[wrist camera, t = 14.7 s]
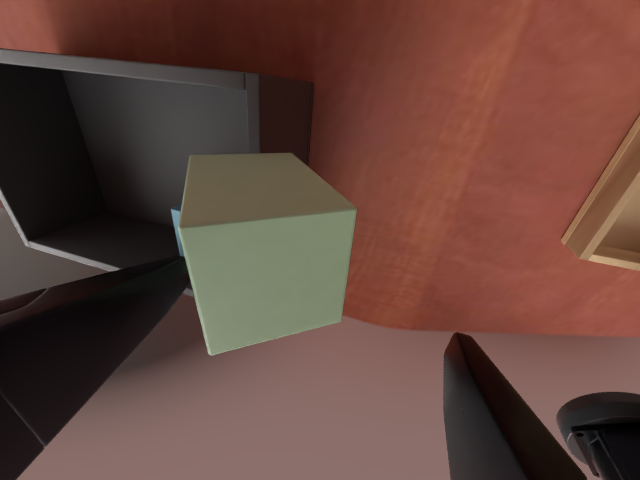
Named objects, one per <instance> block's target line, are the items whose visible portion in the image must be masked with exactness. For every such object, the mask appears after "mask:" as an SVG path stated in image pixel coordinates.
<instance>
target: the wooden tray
mask: <svg viewBox="0 0 640 480" xmlns="http://www.w3.org/2000/svg"><path fill="white" fill-rule="evenodd" d="M561 242H562V243H563V244H564V245H565V246H566V247H567V248H568V249H569V250H570V251H572V252H573V253H574V254H575V255H576V256H577V257H578V258H579V259H584V260H589V261H594V262H599V263H604V264H608V265H613V266H618V267H623V268H628V269H633V270H638V271H640V115H639V117H638V118H637V120H636V121H635V123H634V124H633V126H632V128H631V129H630V131H629V132H628V134H627V136H626V137H625V139H624V140H623V142H622V144H621V145H620V147H619V148H618V150H617V151H616V153H615V155H614V156H613V158H612V159H611V161H610V163H609V164H608V166H607V167H606V169H605V171H604V172H603V174H602V175H601V177H600V178H599V180H598V182H597V183H596V185H595V186H594V188H593V190H592V191H591V193H590V194H589V196H588V198H587V199H586V201H585V202H584V204H583V205H582V207H581V209H580V210H579V212H578V213H577V215H576V217H575V218H574V220H573V221H572V223H571V225H570V226H569V228H568V229H567V231H566V233H565V234H564V236H563V237H562V239H561Z"/></svg>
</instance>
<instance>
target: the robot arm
mask: <svg viewBox="0 0 640 480" xmlns="http://www.w3.org/2000/svg"><path fill="white" fill-rule="evenodd" d="M190 283H191V280H190V276H189V272H188V268H187V264H186V259H185V257H184V256H181V255H174V256H171V257H167V258H163V259H159V260H155V261H151V262H147V263H143V264H139V265H135V266H132V267H128V268H124V269H120V270H116V271H112V272H108V273H104V274H100V275H96V276H93V277H89V278H85V279H81V280H77V281H73V282H69V283H65V284H61V285H58V286H54V287H50V288H48V289H42V290H38V291H34V292H30V293H26V294H22V295H18V296H14V297H10V298H6V299H1V300H0V480H16V479H17V478H18V477H19V476H20V475H21V474H22V473H23V472H24V470H26V468H27V467H28V466H29V465H30V464H31V463H32V462H33V461H34V460H35V458H36V457H37V456H38V455H39V454H40V453H41V452H42V451H43V450H44V447H46V446H47V445H48V444H49V443H50V442H51V441H52V439H54V437H55V436H56V435H57V434H58V433H59V432H60V431H61V430H62V429H63V427H64V426H65V425H66V424H67V423H68V422H69V421H70V420H71V419H72V418H73V417H74V416H75V414H76V413H77V412H78V411H79V410H80V409H81V408H82V407H83V406H84V405H85V404H86V402H87V401H88V400H89V399H90V398H91V397H92V396H93V395H94V394H95V392H96V391H97V390H98V389H99V388H100V387H101V386H102V385H103V384H104V383H105V382H106V381H107V379H108V378H109V377H110V376H111V375H112V374H113V373H114V372H115V371H116V369H117V368H118V367H119V366H120V365H121V364H122V363H123V362H124V360H126V359H127V358H128V356H129V355H130V354H131V353H132V352H133V351H134V350H135V349H136V348H137V346H138V345H139V344H140V343H141V342H142V341H143V340H144V339H145V338H146V337H147V336H148V334H149V333H150V332H151V331H152V330H153V329H154V328H155V327H156V326H157V325H158V323H159V322H160V321H161V320H162V319H163V318H164V317H165V316H166V314H167V313H168V312H169V310H170V309H171V308H172V307H173V305H174V304H175V303H176V301H177V300H178V299H179V297H180V296H181V295H182V293H183V292H184V291H185V289H186V288H187V287H188V285H189V284H190ZM444 421H445V431H446V440H447V450H448V459H449V468H450V477H451V480H587V477H586V476H585V474H584V473H583V472H582V471H581V469H580V468H579V467H578V466H577V465H576V463H575V462H574V461H573V460H572V459H571V457H570V456H569V455H568V454H567V452H566V451H565V450H564V449H563V448H562V447H561V445H560V444H559V443H558V442H557V440H556V439H555V438H554V437H553V435H552V434H551V433H550V432H549V430H548V429H547V428H546V427H545V426H544V424H543V423H542V422H541V421H540V419H539V418H538V417H537V416H536V415H535V413H534V412H533V411H532V410H531V409H530V407H529V406H528V405H527V404H526V402H525V401H524V400H523V399H522V397H521V396H520V395H519V394H518V393H517V391H516V390H515V389H514V388H513V387H512V385H511V384H510V383H509V382H508V380H507V379H506V378H505V377H504V376H503V374H502V373H501V372H500V371H499V369H498V368H497V367H496V366H495V365H494V363H493V362H492V361H491V360H490V358H489V357H488V356H487V355H486V354H485V352H484V351H483V350H482V349H481V347H480V346H479V345H478V344H477V343H476V341H475V340H474V339H473V338H472V337H471V336H469V335H466V334H462V333H459V332H456V333H454V334H453V336H452V338H451V340H450V342H449V344H448V346H447V348H446V350H445V354H444ZM570 431H571V433H572V435H573V437H574V439H575V441H576V442H577V444H578V446H579V448H580V450H581V452H582V454H583V456H584V458H585V460H586V462H587V464H588V466H589V468H590V469H591V471H592V473H593V475H594V476H596V477H600V478H601V479H602V480H640V422H638V423H619V424H600V425H581V426H572V427H571V428H570Z"/></svg>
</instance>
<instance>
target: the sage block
mask: <svg viewBox="0 0 640 480" xmlns="http://www.w3.org/2000/svg"><path fill="white" fill-rule="evenodd" d="M356 214H357V208H356V206H354V205H353V204H352V203H351V202H350V201H348V200H347V199H346V198H345V197H344V196H342V195H341V194H340V193H339V192H338V191H337V190H335V189H334V188H333V187H332V186H331V185H329V184H328V183H327V182H326V181H325V180H323V179H322V178H321V177H320V176H319V175H317V174H316V173H315V172H314V171H313V170H311V169H310V168H309V167H308V166H307V165H305V164H304V163H303V162H302V161H301V160H300V159H298V158H297V157H296V156H295V155H294V154H292V153H259V154H215V155H190V157H189V163H188V169H187V175H186V182H185V188H184V194H183V200H182V206H181V212H180V219H179V225H178V230H179V234H180V239H181V243H182V247H183V251H184V255H185V259H186V264H187V268H188V272H189V276H190V280H191V284H192V288H193V293H194V297H195V301H196V305H197V309H198V313H199V317H200V321H201V326H202V330H203V334H204V338H205V342H206V346H207V351H208V354H209V355H214V354H219V353H222V352H226V351H230V350H234V349H238V348H242V347H245V346H249V345H253V344H257V343H260V342H264V341H268V340H272V339H276V338H280V337H284V336H288V335H291V334H295V333H299V332H302V331H307V330H311V329H314V328H318V327H322V326H326V325H330V324H334V323H337V322H340V321H341V320H342V314H343V307H344V299H345V292H346V285H347V278H348V271H349V264H350V257H351V250H352V243H353V235H354V228H355V221H356Z"/></svg>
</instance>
